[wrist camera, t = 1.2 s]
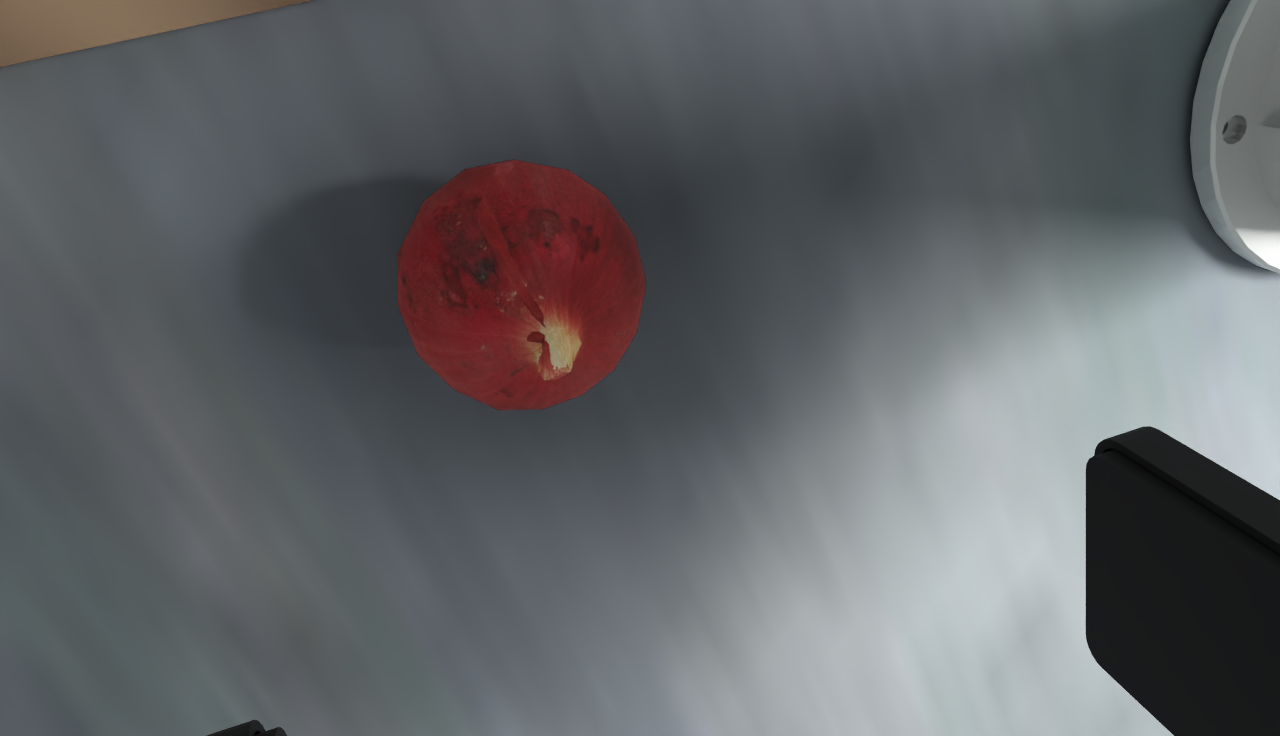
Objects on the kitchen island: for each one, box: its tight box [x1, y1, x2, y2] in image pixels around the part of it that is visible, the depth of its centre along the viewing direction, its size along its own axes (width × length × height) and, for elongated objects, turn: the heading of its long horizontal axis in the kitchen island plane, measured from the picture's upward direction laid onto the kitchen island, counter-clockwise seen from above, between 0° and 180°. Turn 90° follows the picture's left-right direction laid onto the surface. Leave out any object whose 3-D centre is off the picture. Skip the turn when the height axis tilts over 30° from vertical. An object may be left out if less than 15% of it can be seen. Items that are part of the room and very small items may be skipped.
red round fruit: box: [398, 160, 646, 410], centre depth 24 cm, size 6×6×8 cm
